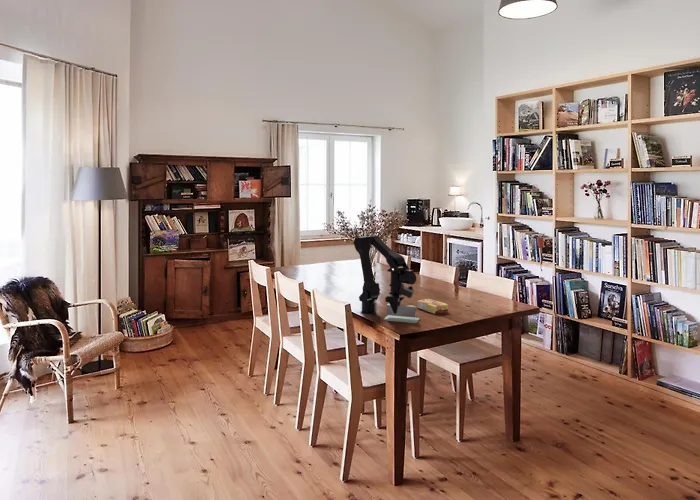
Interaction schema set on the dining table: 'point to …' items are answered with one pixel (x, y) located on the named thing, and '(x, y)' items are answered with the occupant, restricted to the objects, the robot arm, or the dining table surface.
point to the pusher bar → (402, 310)
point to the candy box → (432, 306)
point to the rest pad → (402, 319)
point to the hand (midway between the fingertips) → (396, 312)
